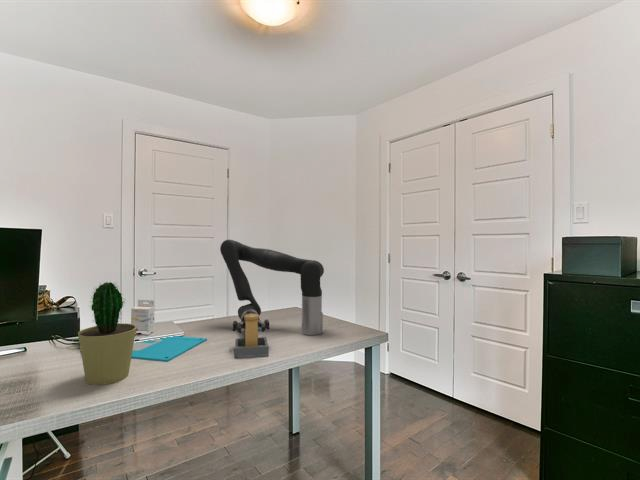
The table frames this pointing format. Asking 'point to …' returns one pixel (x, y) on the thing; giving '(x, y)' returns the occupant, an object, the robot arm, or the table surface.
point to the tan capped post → (251, 330)
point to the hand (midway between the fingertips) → (251, 330)
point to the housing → (251, 348)
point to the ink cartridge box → (143, 315)
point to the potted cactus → (107, 339)
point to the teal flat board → (164, 348)
